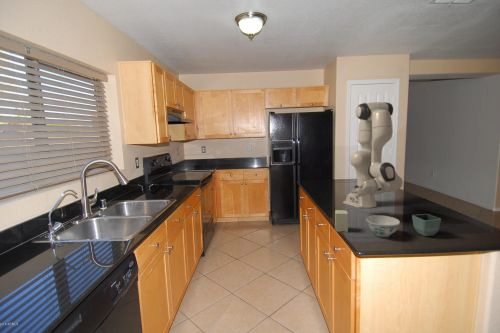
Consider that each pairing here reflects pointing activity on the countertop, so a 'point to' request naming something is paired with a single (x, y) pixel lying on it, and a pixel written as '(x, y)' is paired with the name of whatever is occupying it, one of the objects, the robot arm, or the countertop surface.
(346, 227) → the sage block
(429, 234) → the flower pot
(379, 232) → the chinaware
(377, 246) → the countertop surface
